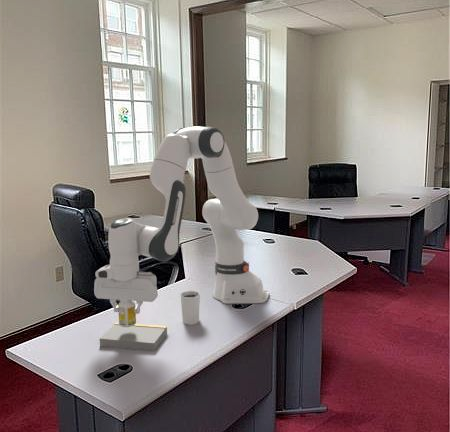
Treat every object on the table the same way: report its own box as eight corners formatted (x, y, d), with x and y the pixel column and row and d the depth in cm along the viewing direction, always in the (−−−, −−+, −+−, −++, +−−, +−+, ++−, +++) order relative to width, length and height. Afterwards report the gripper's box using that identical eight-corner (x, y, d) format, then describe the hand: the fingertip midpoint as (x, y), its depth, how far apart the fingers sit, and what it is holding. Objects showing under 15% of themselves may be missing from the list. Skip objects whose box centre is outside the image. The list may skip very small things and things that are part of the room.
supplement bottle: (118, 328, 145) (116, 299, 143) (120, 321, 150) (118, 293, 148) (135, 327, 145) (134, 298, 144) (137, 320, 151) (135, 292, 149)
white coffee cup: (186, 316, 166) (185, 289, 164) (203, 318, 164) (202, 292, 162) (178, 323, 160) (177, 296, 158) (195, 326, 158) (194, 298, 156)
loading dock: (167, 333, 152) (166, 326, 152) (154, 350, 141) (154, 342, 140) (116, 329, 156) (115, 322, 155) (100, 345, 144) (99, 337, 144)
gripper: (159, 269, 145) (161, 310, 148) (99, 266, 149) (102, 306, 152) (152, 275, 139) (154, 318, 142) (90, 272, 143) (93, 314, 146)
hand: (127, 312), depth 147 cm, fingers closed on supplement bottle, 5 cm apart
